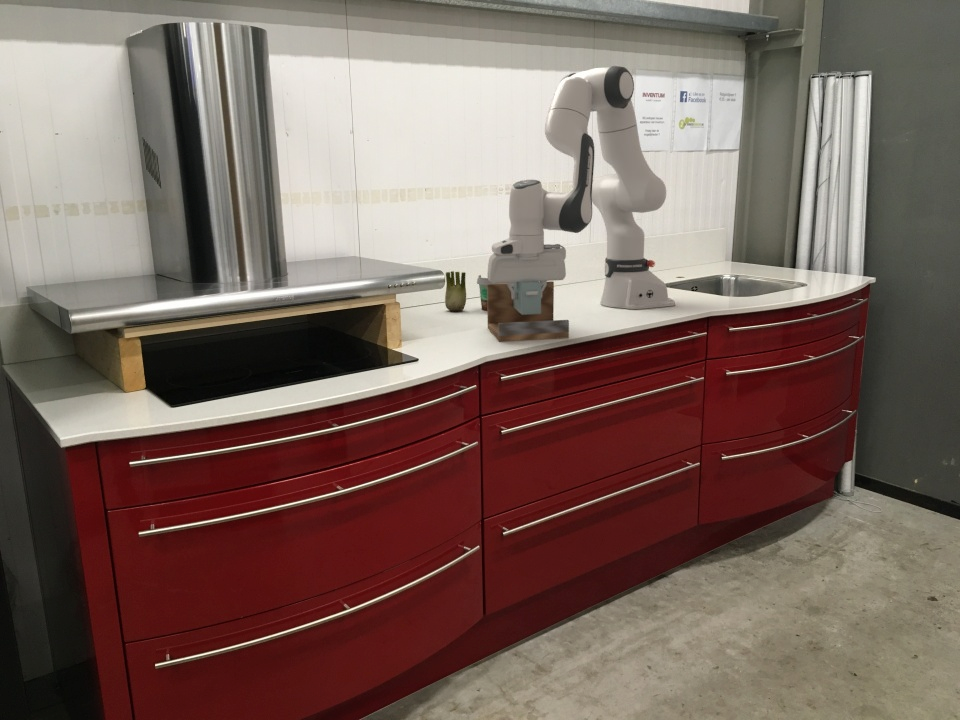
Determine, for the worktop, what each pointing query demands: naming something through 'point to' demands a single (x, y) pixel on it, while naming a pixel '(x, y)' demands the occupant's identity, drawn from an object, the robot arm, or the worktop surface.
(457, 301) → the fennel bulb
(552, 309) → the wooden l-shaped stand
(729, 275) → the worktop surface
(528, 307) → the mini cabinet
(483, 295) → the food container
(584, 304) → the worktop surface
